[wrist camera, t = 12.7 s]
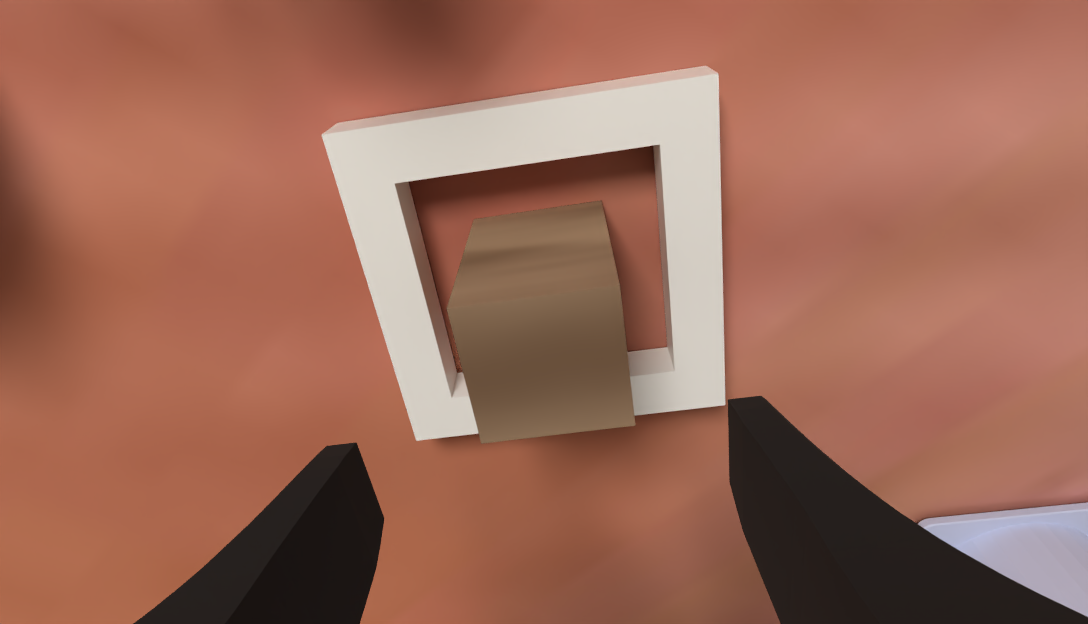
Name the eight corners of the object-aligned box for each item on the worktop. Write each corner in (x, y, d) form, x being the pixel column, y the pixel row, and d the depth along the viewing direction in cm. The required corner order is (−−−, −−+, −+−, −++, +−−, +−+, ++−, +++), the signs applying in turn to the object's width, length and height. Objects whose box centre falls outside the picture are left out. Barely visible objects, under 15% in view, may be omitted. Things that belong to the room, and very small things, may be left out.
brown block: (614, 313, 22) (635, 425, 16) (498, 328, 22) (481, 443, 17) (601, 200, 20) (619, 285, 14) (474, 218, 20) (446, 308, 15)
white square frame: (715, 379, 23) (725, 405, 21) (423, 414, 24) (416, 440, 22) (705, 65, 18) (718, 73, 17) (337, 122, 19) (321, 134, 17)
